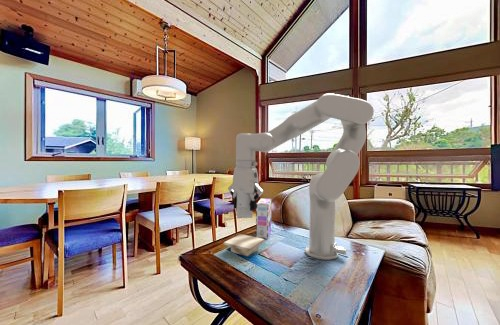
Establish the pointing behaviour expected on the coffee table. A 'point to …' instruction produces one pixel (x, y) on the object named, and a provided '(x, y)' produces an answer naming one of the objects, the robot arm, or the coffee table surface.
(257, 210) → the candy box
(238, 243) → the cream square tile
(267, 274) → the coffee table surface
